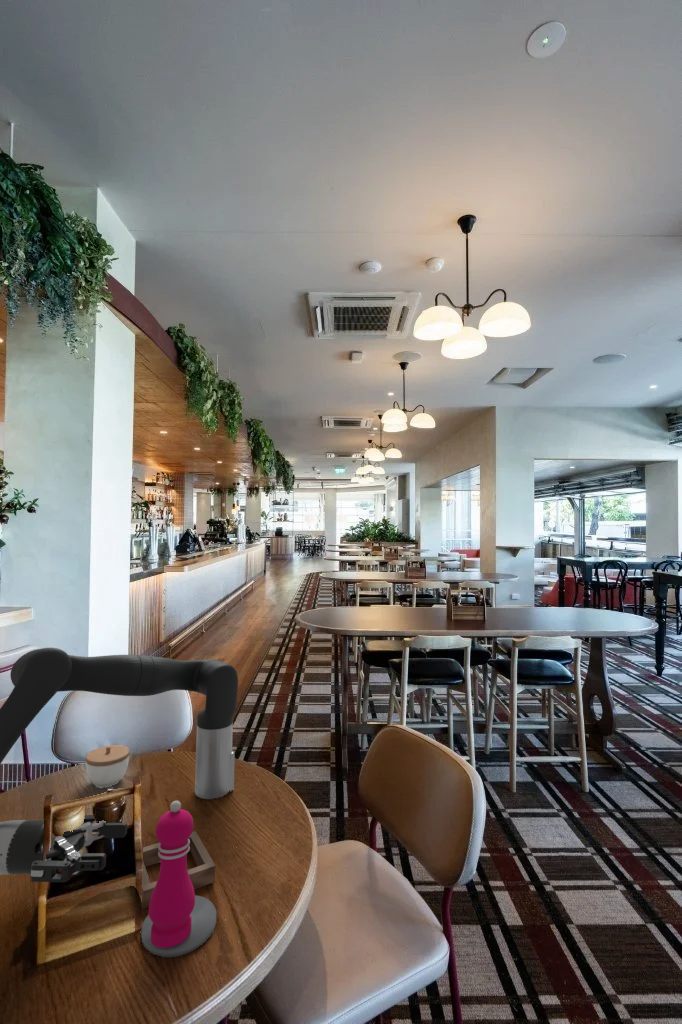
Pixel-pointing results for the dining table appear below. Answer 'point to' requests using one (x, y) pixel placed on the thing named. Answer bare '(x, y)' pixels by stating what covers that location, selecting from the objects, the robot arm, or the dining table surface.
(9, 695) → the robot arm
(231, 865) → the dining table surface
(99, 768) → the lidded jar
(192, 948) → the grey round disc
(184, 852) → the pepper mill
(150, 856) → the walnut board
